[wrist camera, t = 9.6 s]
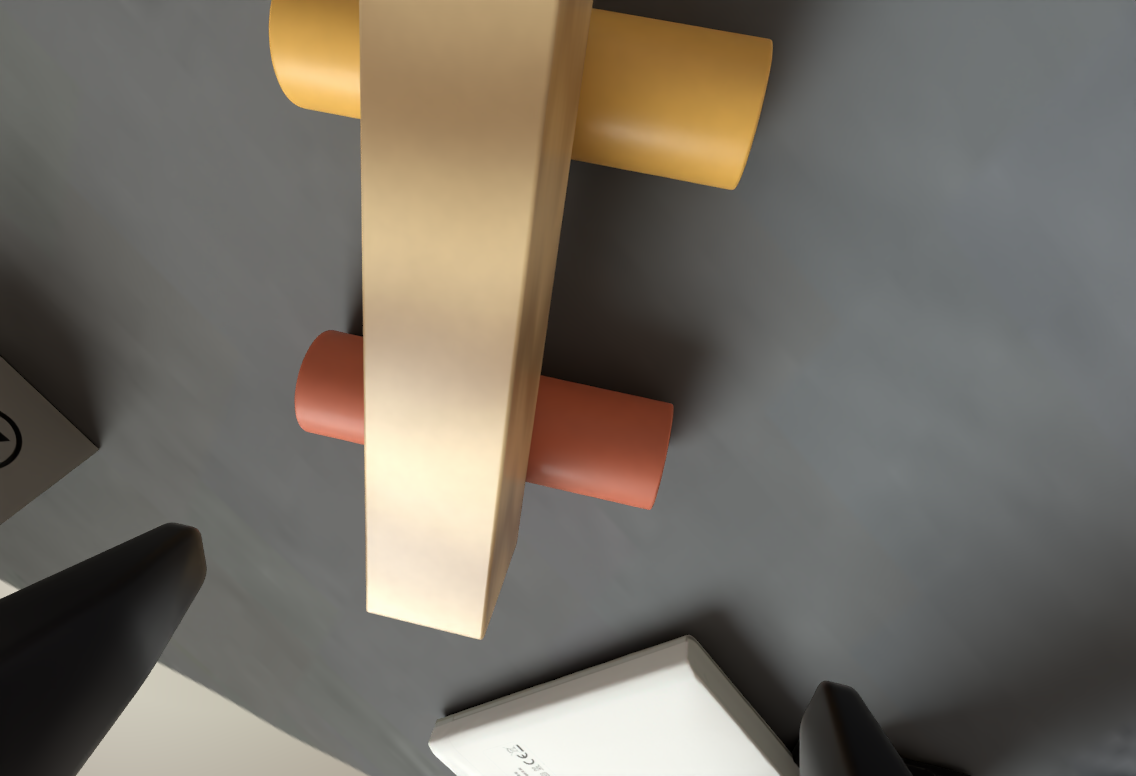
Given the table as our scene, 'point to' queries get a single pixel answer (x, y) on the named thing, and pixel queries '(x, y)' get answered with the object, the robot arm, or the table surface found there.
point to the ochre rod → (608, 90)
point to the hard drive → (619, 724)
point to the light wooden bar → (457, 284)
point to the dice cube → (33, 443)
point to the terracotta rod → (560, 431)
